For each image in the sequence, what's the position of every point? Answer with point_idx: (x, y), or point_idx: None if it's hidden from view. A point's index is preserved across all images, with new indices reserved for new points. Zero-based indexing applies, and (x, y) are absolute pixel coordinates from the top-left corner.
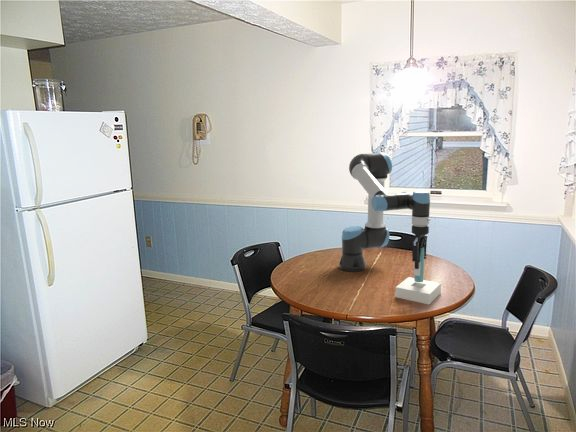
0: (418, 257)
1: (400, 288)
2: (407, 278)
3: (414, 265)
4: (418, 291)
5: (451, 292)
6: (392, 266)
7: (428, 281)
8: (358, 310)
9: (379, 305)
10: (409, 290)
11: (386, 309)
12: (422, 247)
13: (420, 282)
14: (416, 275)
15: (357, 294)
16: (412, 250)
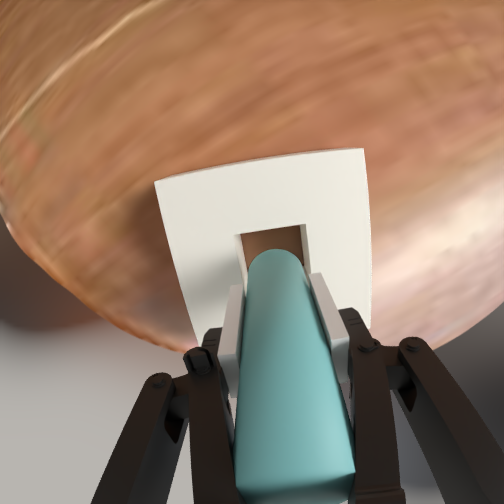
0: (181, 443)
1: (161, 211)
2: (336, 154)
3: (223, 330)
4: (190, 306)
5: (386, 323)
6: (486, 8)
7: (361, 275)
8: (7, 163)
9: (67, 182)
10: (174, 262)
11: (62, 224)
12: (345, 496)
13: (321, 250)
14: (246, 293)
15: (96, 42)
16: (103, 474)
